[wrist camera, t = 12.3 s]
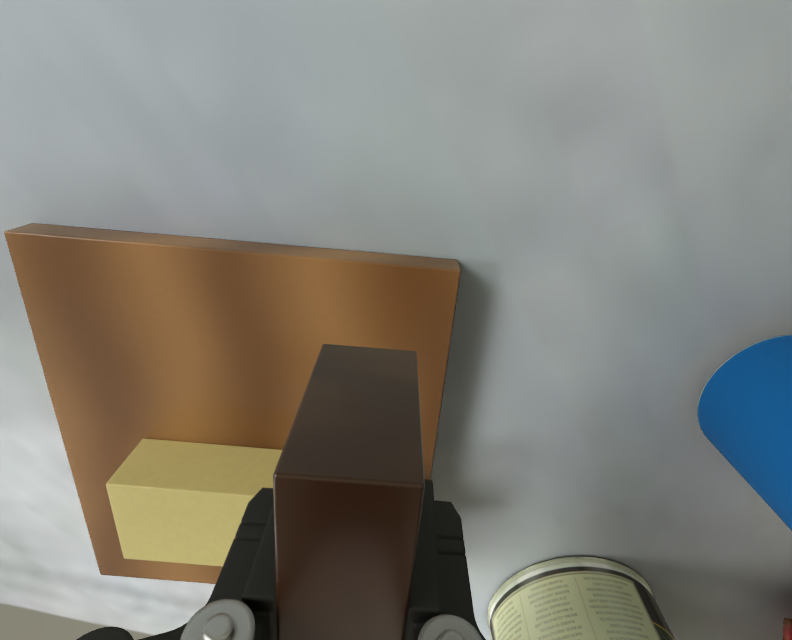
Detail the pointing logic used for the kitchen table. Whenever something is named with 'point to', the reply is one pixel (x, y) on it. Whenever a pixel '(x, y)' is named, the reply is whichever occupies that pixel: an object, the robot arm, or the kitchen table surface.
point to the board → (208, 345)
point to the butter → (186, 498)
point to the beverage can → (755, 418)
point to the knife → (350, 498)
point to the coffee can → (576, 603)
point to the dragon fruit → (787, 629)
